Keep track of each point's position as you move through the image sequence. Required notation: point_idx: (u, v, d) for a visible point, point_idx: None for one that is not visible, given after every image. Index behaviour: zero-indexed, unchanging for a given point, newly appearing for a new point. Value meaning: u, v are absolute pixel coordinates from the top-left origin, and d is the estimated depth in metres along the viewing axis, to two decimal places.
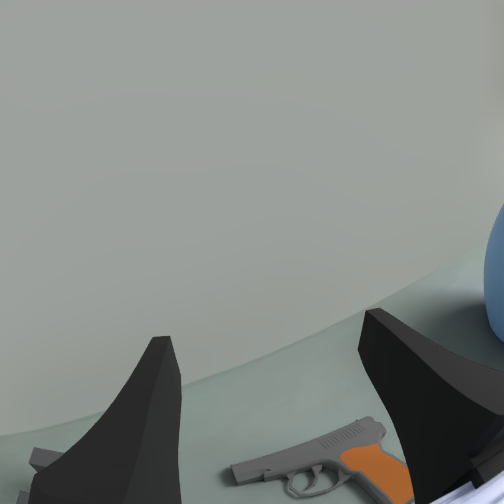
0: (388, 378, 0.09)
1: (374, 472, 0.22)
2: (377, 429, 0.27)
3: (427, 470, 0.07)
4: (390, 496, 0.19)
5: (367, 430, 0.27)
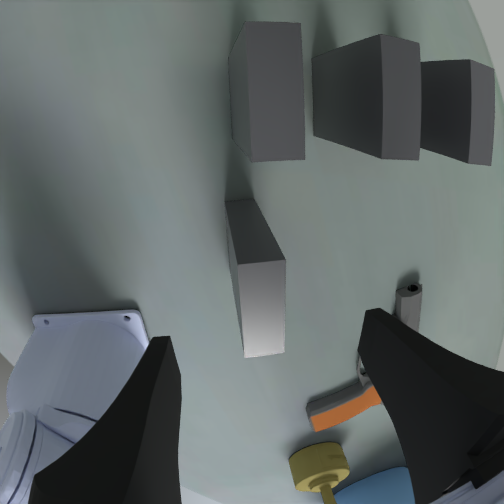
0: (388, 378, 0.09)
1: (355, 403, 0.28)
2: None
3: (427, 470, 0.07)
4: (325, 413, 0.28)
5: None
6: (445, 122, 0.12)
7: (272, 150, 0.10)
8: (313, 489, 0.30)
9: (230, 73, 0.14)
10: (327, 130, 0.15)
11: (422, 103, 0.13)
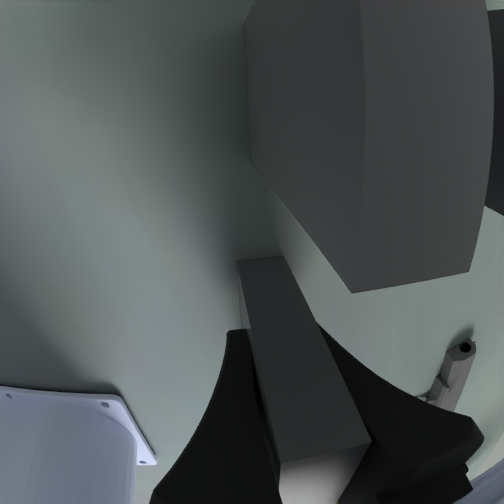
0: None
1: None
2: None
3: (348, 500, 0.06)
4: None
5: None
6: None
7: (410, 256, 0.03)
8: None
9: (250, 46, 0.08)
10: None
11: None
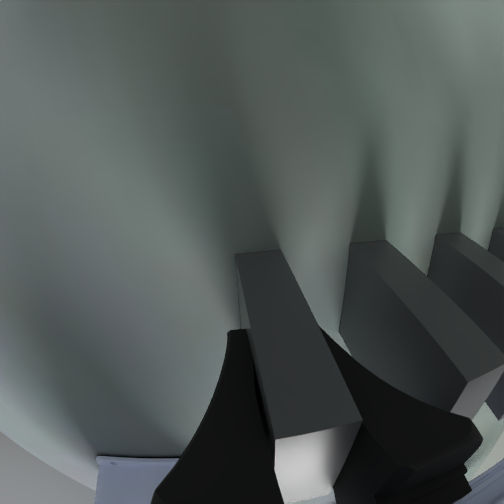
0: None
1: None
2: None
3: (347, 500, 0.06)
4: None
5: None
6: None
7: None
8: None
9: (358, 279, 0.12)
10: None
11: None
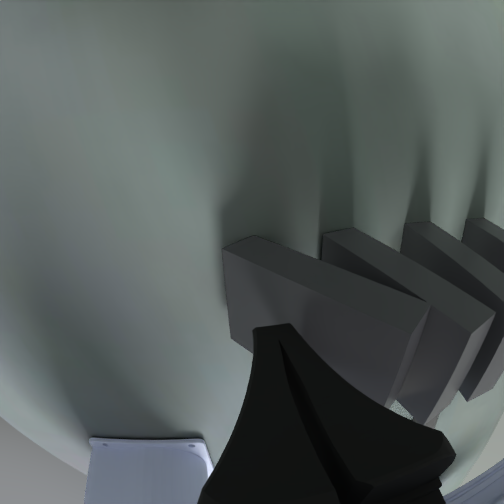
0: None
1: None
2: None
3: None
4: None
5: None
6: None
7: (437, 412, 0.09)
8: None
9: (336, 266, 0.13)
10: None
11: None
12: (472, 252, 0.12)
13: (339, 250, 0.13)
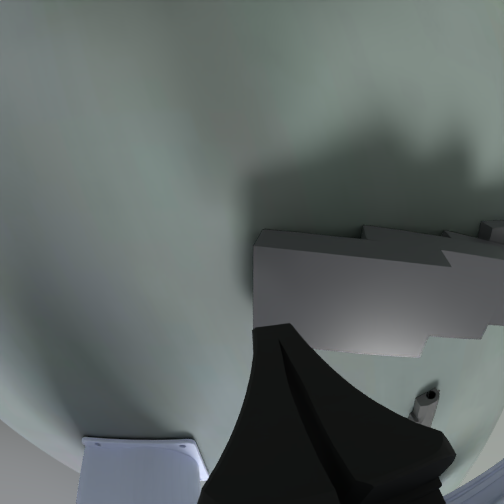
0: None
1: None
2: None
3: None
4: None
5: None
6: None
7: None
8: None
9: None
10: None
11: None
12: (490, 242, 0.15)
13: None
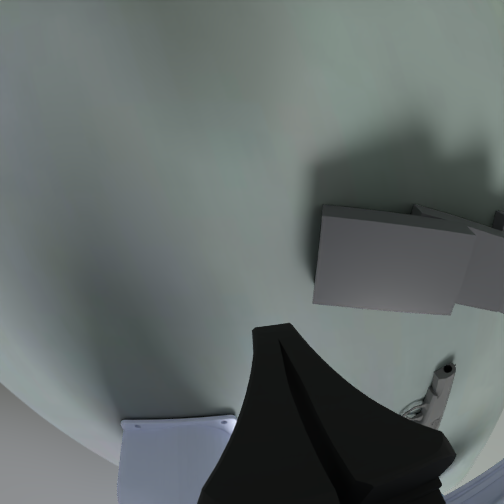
0: None
1: None
2: None
3: None
4: None
5: None
6: None
7: None
8: None
9: None
10: None
11: None
12: None
13: None
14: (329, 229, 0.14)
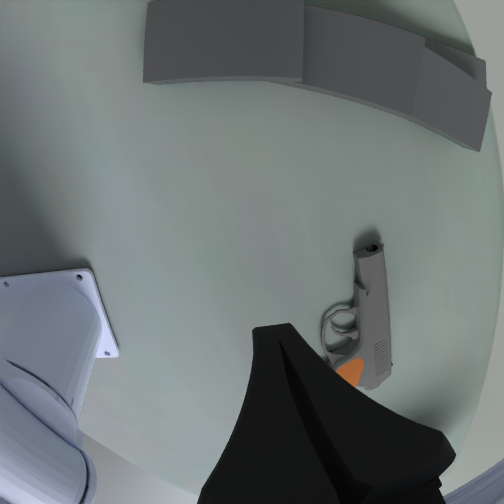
0: None
1: None
2: (372, 385, 0.28)
3: None
4: None
5: (375, 377, 0.27)
6: None
7: None
8: None
9: None
10: (426, 115, 0.15)
11: None
12: None
13: None
14: (153, 10, 0.12)
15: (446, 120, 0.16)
